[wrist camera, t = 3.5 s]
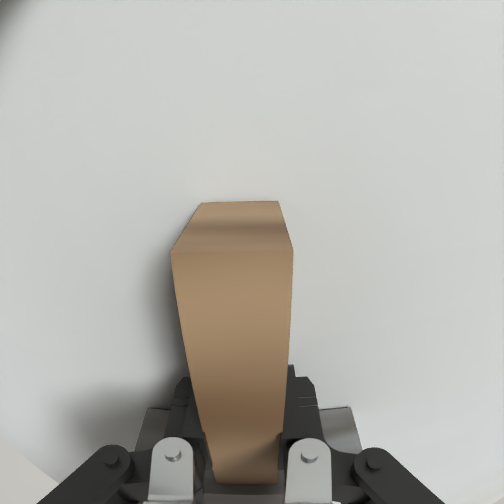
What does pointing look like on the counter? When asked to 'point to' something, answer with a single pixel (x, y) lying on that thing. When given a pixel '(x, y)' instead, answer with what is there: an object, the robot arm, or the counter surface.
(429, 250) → the counter surface
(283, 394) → the hammer
